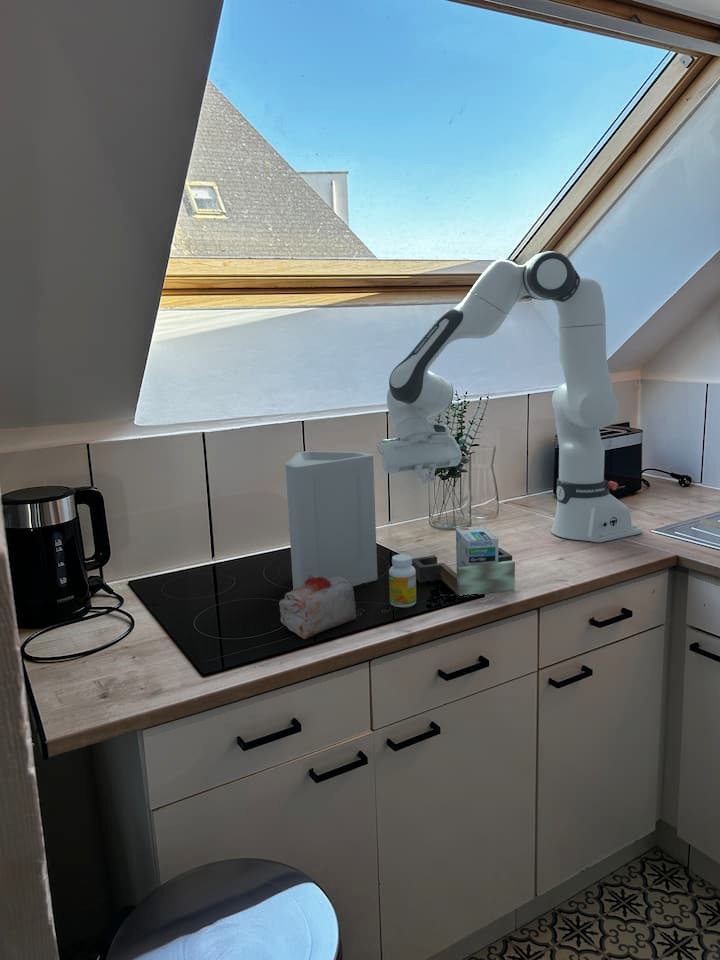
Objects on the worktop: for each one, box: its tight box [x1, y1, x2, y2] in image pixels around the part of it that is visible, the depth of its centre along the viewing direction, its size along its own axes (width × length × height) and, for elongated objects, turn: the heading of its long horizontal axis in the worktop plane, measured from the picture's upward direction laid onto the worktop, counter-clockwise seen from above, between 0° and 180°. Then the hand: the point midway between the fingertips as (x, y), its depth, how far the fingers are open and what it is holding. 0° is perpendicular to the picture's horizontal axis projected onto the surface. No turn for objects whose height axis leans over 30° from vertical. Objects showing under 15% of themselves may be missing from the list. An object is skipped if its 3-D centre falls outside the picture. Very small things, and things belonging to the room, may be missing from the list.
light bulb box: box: [455, 525, 499, 569], centre depth 157 cm, size 11×7×11 cm, turn 8°
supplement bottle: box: [388, 553, 417, 608], centre depth 145 cm, size 5×5×10 cm
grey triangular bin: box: [285, 450, 379, 590], centre depth 158 cm, size 19×15×28 cm
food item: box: [278, 574, 358, 640], centre depth 136 cm, size 14×8×10 cm, turn 131°
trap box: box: [411, 547, 516, 597], centre depth 157 cm, size 22×17×6 cm
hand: (429, 481), depth 178 cm, fingers closed
